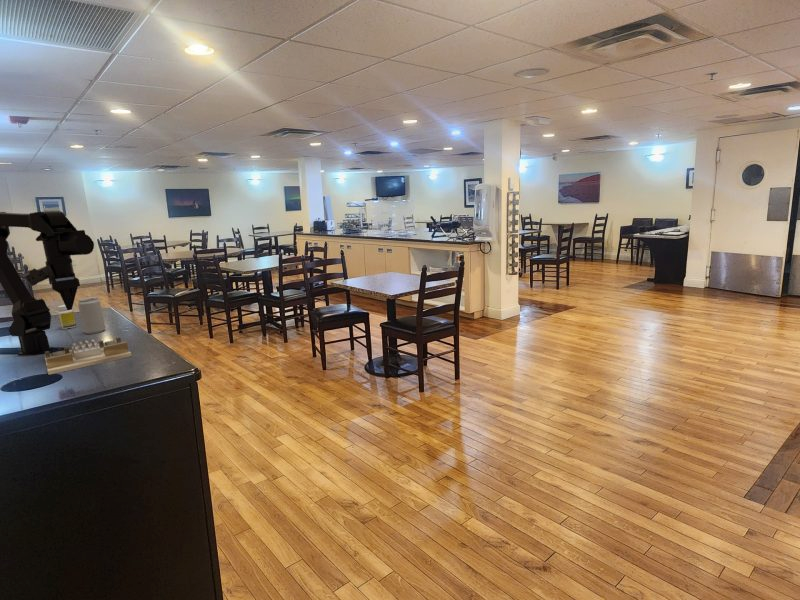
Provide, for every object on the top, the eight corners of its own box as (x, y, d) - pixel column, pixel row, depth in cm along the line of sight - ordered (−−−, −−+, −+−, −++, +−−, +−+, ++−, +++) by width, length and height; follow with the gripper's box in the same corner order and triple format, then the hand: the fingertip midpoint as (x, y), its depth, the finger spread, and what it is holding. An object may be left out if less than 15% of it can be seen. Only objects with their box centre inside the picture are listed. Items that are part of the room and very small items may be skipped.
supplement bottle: (79, 326, 177) (75, 304, 175) (67, 329, 173) (62, 307, 171) (70, 326, 179) (65, 304, 177) (58, 329, 174) (53, 307, 173)
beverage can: (95, 334, 162) (88, 300, 160) (79, 334, 163) (72, 300, 161) (110, 329, 168) (103, 296, 166) (94, 329, 170) (88, 296, 167)
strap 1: (51, 355, 134) (50, 351, 134) (63, 353, 136) (62, 349, 136) (53, 363, 125) (52, 358, 125) (66, 360, 127) (65, 356, 127)
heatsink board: (45, 358, 137) (41, 345, 136) (119, 342, 148) (117, 330, 148) (48, 374, 122) (45, 359, 121) (131, 356, 133) (129, 342, 132)
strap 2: (104, 344, 142) (104, 341, 142) (115, 342, 144) (114, 339, 144) (110, 350, 133) (109, 346, 133) (121, 348, 135) (120, 344, 135)
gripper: (22, 258, 137) (34, 310, 141) (22, 261, 123) (36, 320, 126) (68, 253, 144) (78, 303, 147) (74, 256, 130) (85, 312, 133)
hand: (69, 309), depth 138 cm, fingers closed
